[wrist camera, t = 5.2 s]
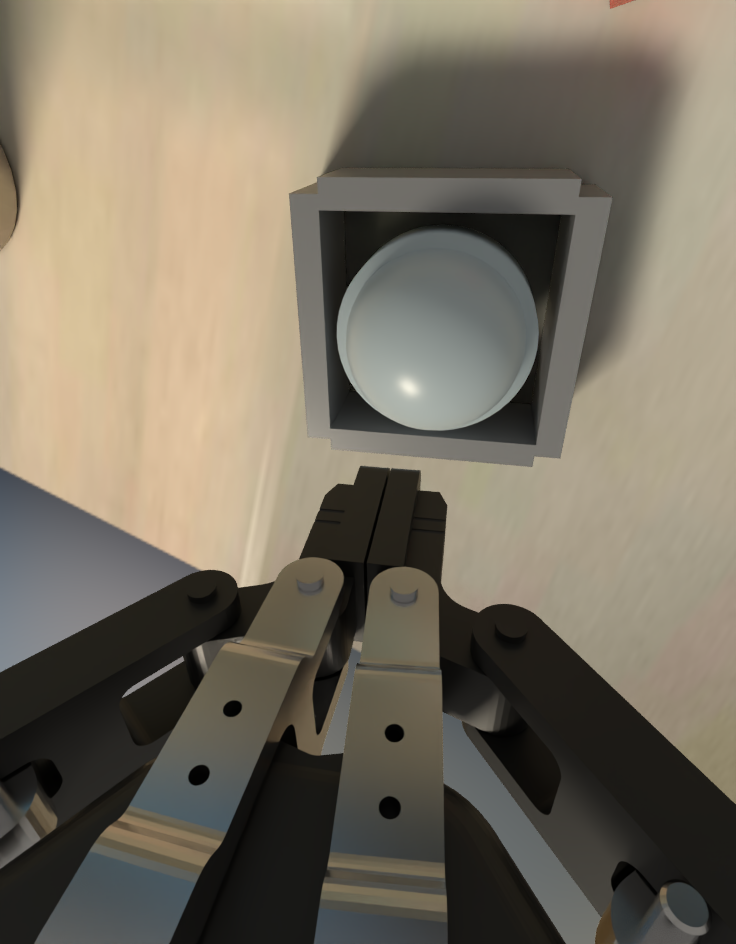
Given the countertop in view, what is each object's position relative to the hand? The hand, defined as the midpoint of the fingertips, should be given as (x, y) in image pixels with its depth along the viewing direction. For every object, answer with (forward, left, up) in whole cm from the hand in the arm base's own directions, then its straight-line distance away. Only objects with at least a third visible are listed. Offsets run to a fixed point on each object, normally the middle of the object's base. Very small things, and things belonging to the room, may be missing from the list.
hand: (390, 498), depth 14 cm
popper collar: (0, 0, -17) cm, 17 cm away
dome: (0, 0, -16) cm, 16 cm away
